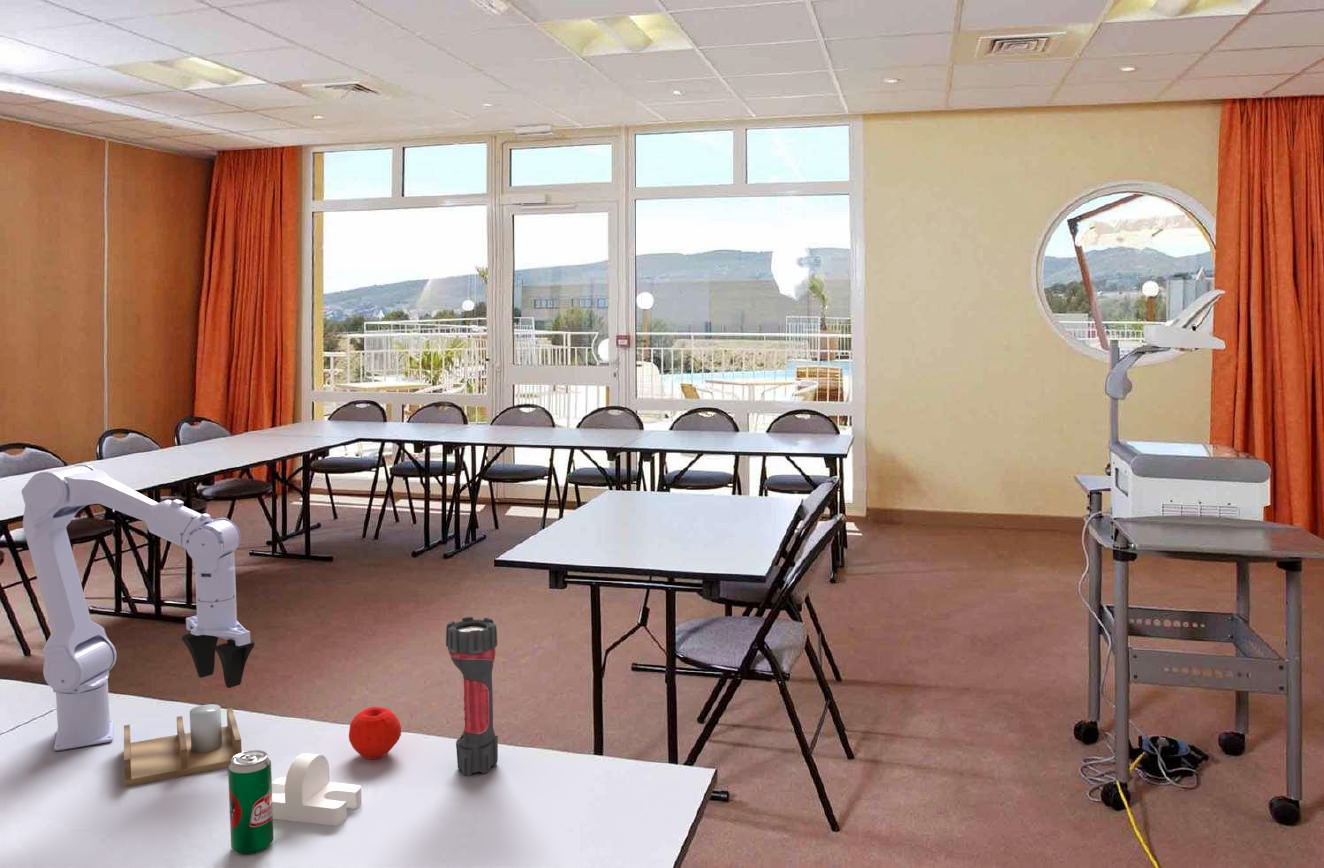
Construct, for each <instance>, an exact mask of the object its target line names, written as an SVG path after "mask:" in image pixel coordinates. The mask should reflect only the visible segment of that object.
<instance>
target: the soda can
mask: <svg viewBox="0 0 1324 868" xmlns="http://www.w3.org/2000/svg"><path fill="white" fill-rule="evenodd" d="M268 756H269V754H268V753H267V751H264V750H261V749H255V750H254V749H252V750H246V751H242V752H241V753H239V754H237V755H235V756H233V757H232V759H231V764H230V765H229V767H227V778H228V779H227V780H228V801H229V802H228V805H229V825H230V826H229V829H230V831H229V832H230V847H231V850H233V851H234V853H236V854H239V855H241V856H249V855H256V854H259V853H261V852H263V851H265V850H267V849H268V848H269V847H270V846H271V844H272V843H273V842H274V839H275V837H274V818H273V803H272V782H273V779H272V776H273V775H272V761H271V759H270V758H269V757H268Z"/></svg>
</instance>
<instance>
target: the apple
mask: <svg viewBox="0 0 1324 868" xmlns="http://www.w3.org/2000/svg"><path fill="white" fill-rule="evenodd" d="M401 736H402V725H401V723H400V720H399V718H398V716H396V714H395V713H394V712H393V711H392V710H390V709H387V708H384V707H379V706H377V707H376V706H373V707H368V708H366V709H363V710H361V711H359V712H358V713H357V714H356V715H355V716H354V717H353V719H352V721H351V722H350V723H349V731H348V740H349V743H350V745H351V747H352V748H353V749H354V750H355V752H357V753H358V755H360V757H362V758H365V759H368V760H377V759H380V758H383V757H385V756H386V755H387V754H388V753H389V752H390V751H391V750H392V748H394V747H395V745H396V744H397V743H398V741H399V740H400V738H401Z"/></svg>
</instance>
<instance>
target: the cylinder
mask: <svg viewBox="0 0 1324 868" xmlns="http://www.w3.org/2000/svg"><path fill="white" fill-rule="evenodd" d="M221 707H222V706H220V704H214V703H211V704H210V703H209V704H202V705H199V706H195V707H193V708H191V709H190V710H189V728H190V732H189V733H191V750H192V751H193V752H197V753H204V752H210V751H214V750H216V749H218V748H220V747H221V746H222V727H223V726H222V708H221Z"/></svg>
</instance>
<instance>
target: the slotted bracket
mask: <svg viewBox="0 0 1324 868" xmlns="http://www.w3.org/2000/svg"><path fill="white" fill-rule="evenodd" d="M329 764H330V763H329V761H328V759H327V757H326V756H325V755H323V754H318V753H317V754H316V753H307V752H306V753H305V752H304V753H303V752H302V753H300V754H299V755H297V756H296V757H295V758H294V759H293V761H292V762H291V764H290V766H289V769H288V770H287V774H286V776H281V777H277V778H275V780H272V803H273V820H274V819H276V820H284V821H292V822H298V823H299V822H302V823H309V824H318V825H327V826H339V825H341V824H342V823H343V822H344V821H346V819H347V809H351V810H352V809H353V810H357V808H359V807H360V806H361V805H362V785H359V784H352V783H342V782H336V781H335V782H334V781H330V780H331V779H330V765H329Z"/></svg>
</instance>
